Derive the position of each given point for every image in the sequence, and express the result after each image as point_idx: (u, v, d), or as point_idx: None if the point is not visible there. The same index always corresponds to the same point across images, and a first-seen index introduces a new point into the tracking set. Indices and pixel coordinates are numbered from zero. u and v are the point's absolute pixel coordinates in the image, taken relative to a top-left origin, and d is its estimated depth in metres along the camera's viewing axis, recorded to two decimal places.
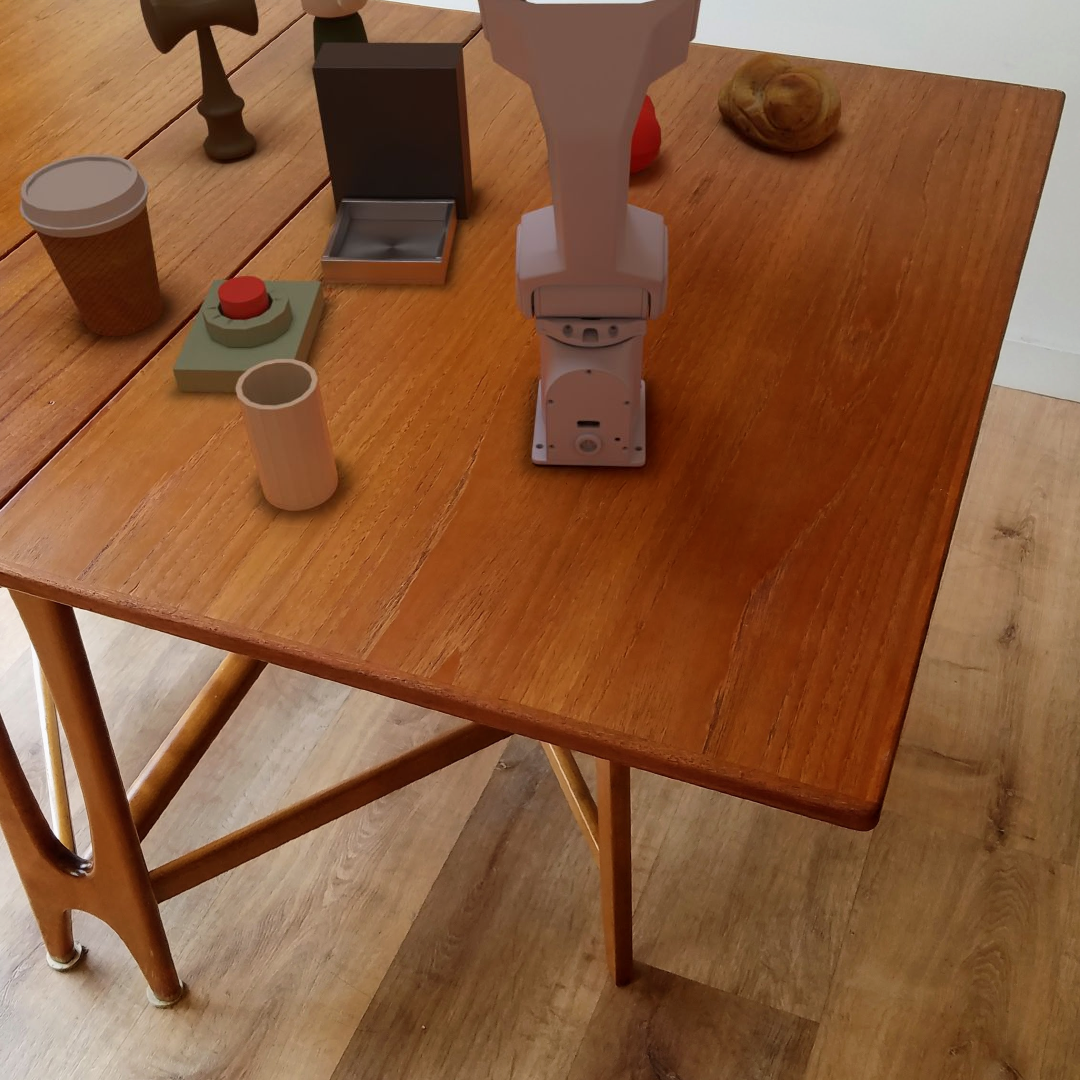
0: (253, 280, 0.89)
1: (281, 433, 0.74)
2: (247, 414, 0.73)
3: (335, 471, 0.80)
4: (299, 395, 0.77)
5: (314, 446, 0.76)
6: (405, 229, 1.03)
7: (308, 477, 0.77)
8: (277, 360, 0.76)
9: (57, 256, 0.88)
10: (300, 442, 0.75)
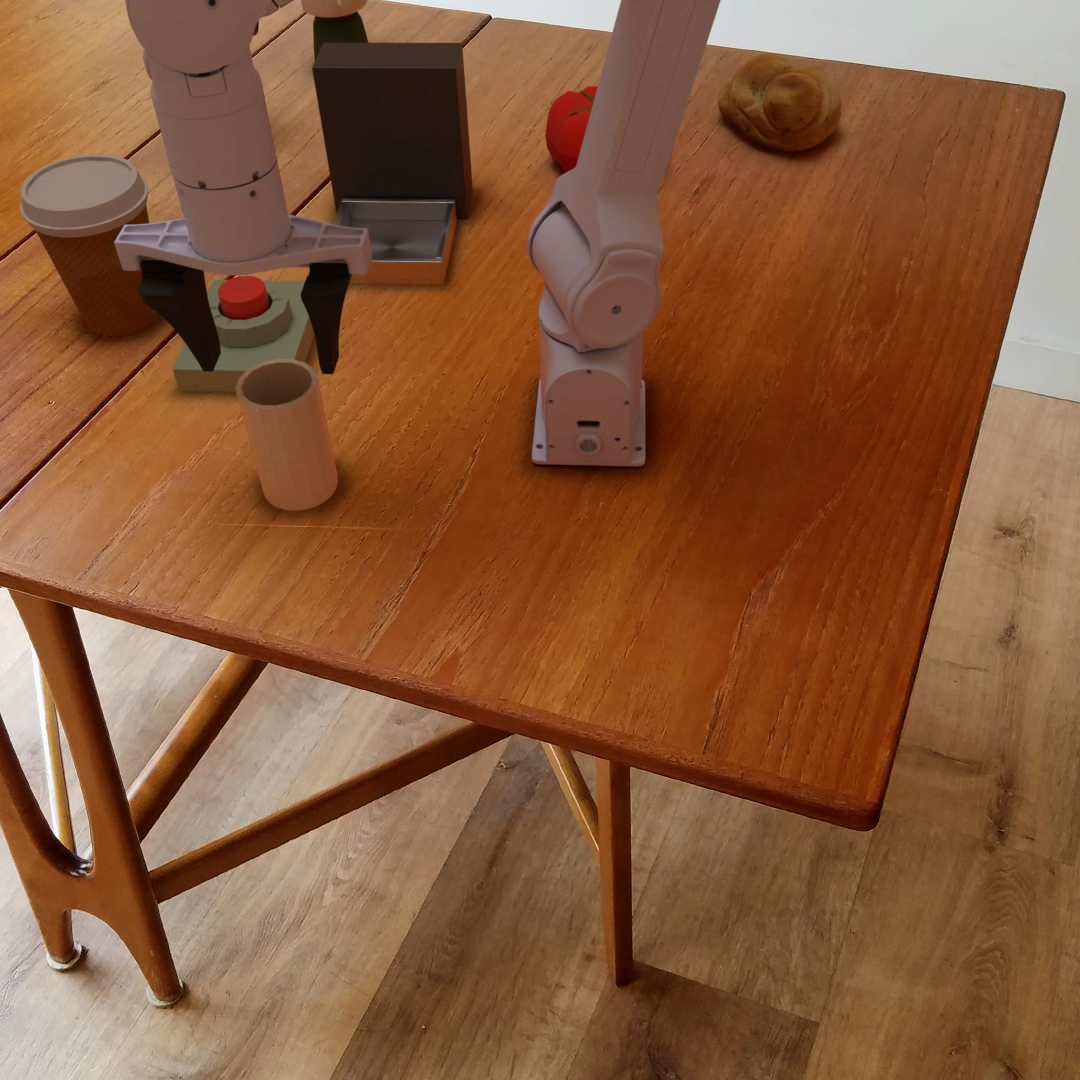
0: (253, 280, 0.89)
1: (281, 433, 0.74)
2: (247, 414, 0.73)
3: (335, 471, 0.80)
4: (299, 395, 0.77)
5: (314, 446, 0.76)
6: (405, 229, 1.03)
7: (308, 477, 0.77)
8: (277, 360, 0.76)
9: (57, 256, 0.88)
10: (300, 442, 0.75)
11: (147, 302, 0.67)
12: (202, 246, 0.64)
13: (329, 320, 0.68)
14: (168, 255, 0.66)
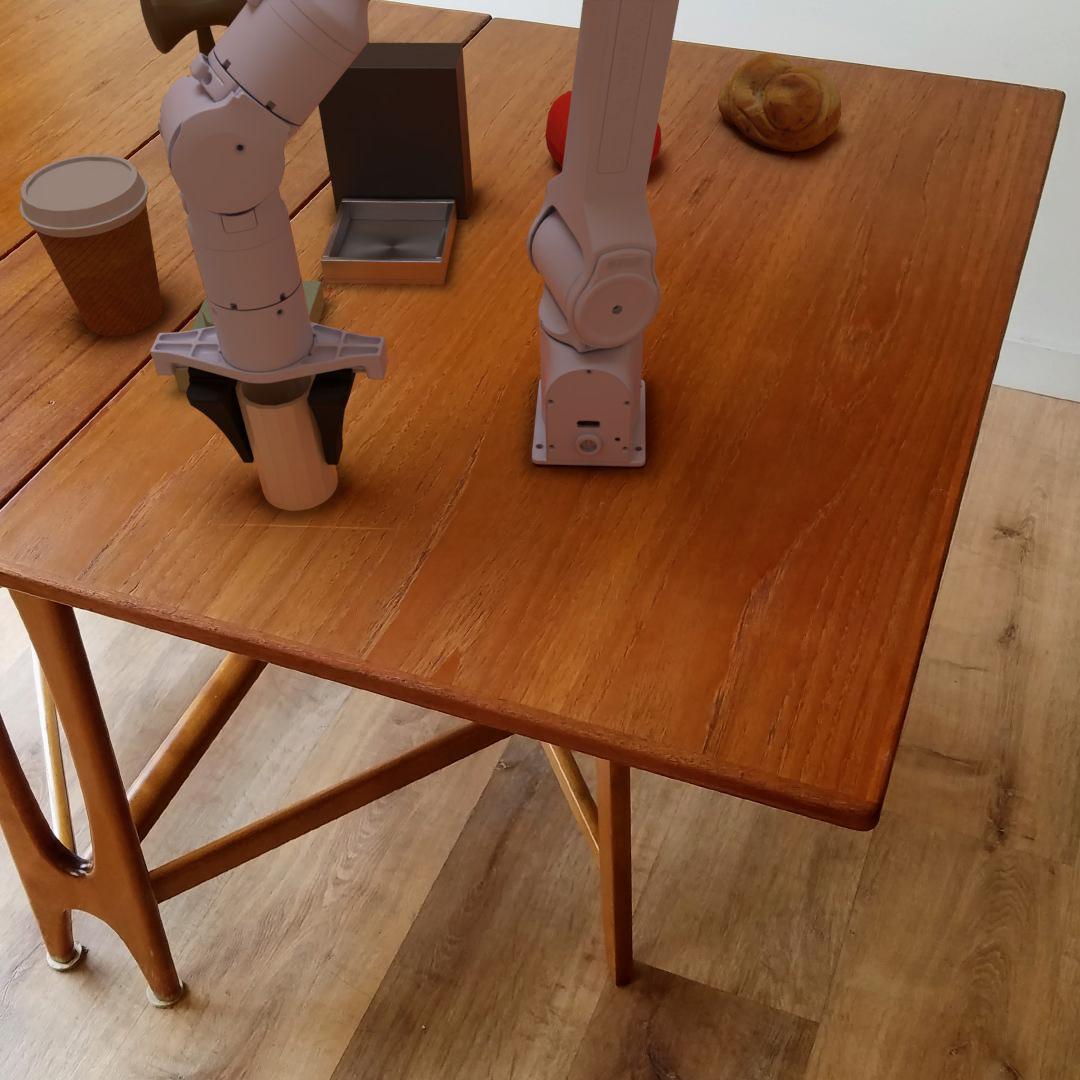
0: None
1: (281, 433, 0.74)
2: (247, 414, 0.73)
3: (335, 471, 0.80)
4: (299, 395, 0.77)
5: (314, 446, 0.76)
6: (405, 229, 1.03)
7: (308, 477, 0.77)
8: None
9: (57, 256, 0.88)
10: (300, 442, 0.75)
11: (194, 405, 0.73)
12: (232, 358, 0.70)
13: (334, 420, 0.73)
14: (200, 364, 0.71)
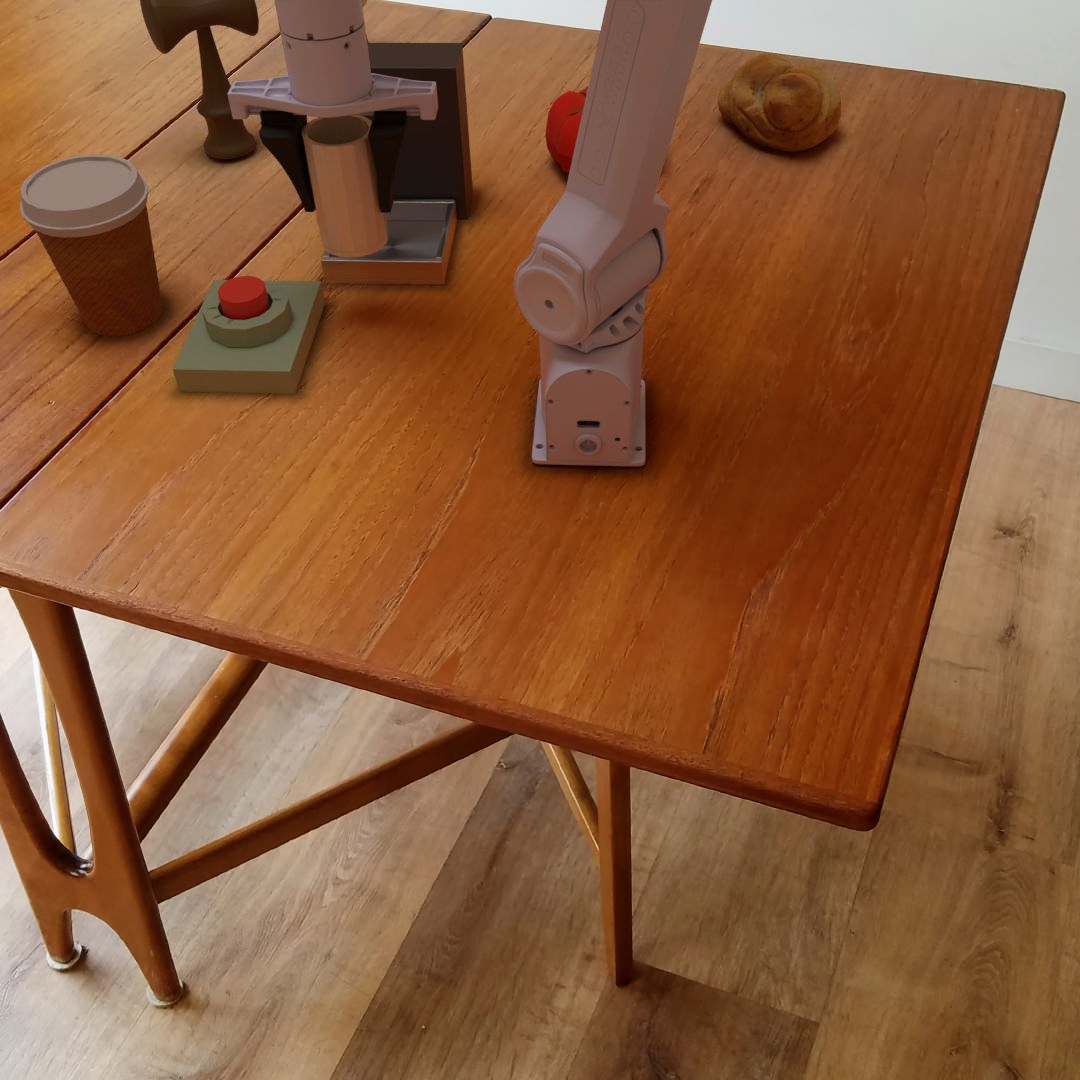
0: (253, 280, 0.89)
1: (342, 173, 0.83)
2: (312, 155, 0.82)
3: (386, 224, 0.89)
4: None
5: (370, 191, 0.85)
6: (405, 229, 1.03)
7: (364, 222, 0.86)
8: None
9: (57, 256, 0.88)
10: (358, 184, 0.84)
11: (266, 144, 0.82)
12: (303, 93, 0.79)
13: (390, 160, 0.82)
14: (273, 102, 0.80)
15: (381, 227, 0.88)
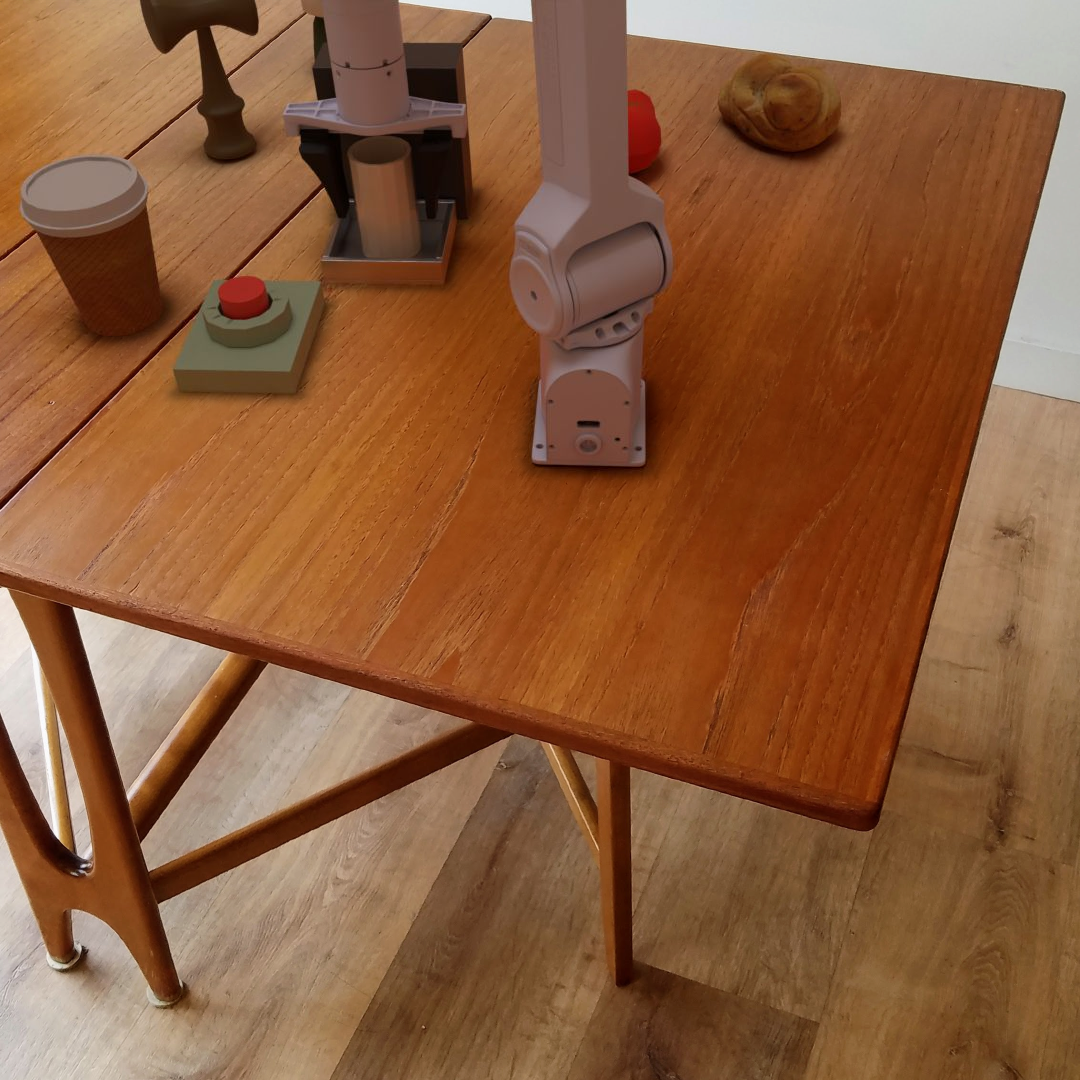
0: (253, 280, 0.89)
1: (383, 189, 0.94)
2: (357, 173, 0.94)
3: (420, 233, 1.00)
4: None
5: (407, 204, 0.96)
6: None
7: (401, 232, 0.97)
8: (378, 136, 0.96)
9: (57, 256, 0.88)
10: (397, 198, 0.95)
11: (305, 159, 0.93)
12: (349, 114, 0.90)
13: (436, 173, 0.93)
14: (323, 122, 0.91)
15: (416, 236, 0.99)
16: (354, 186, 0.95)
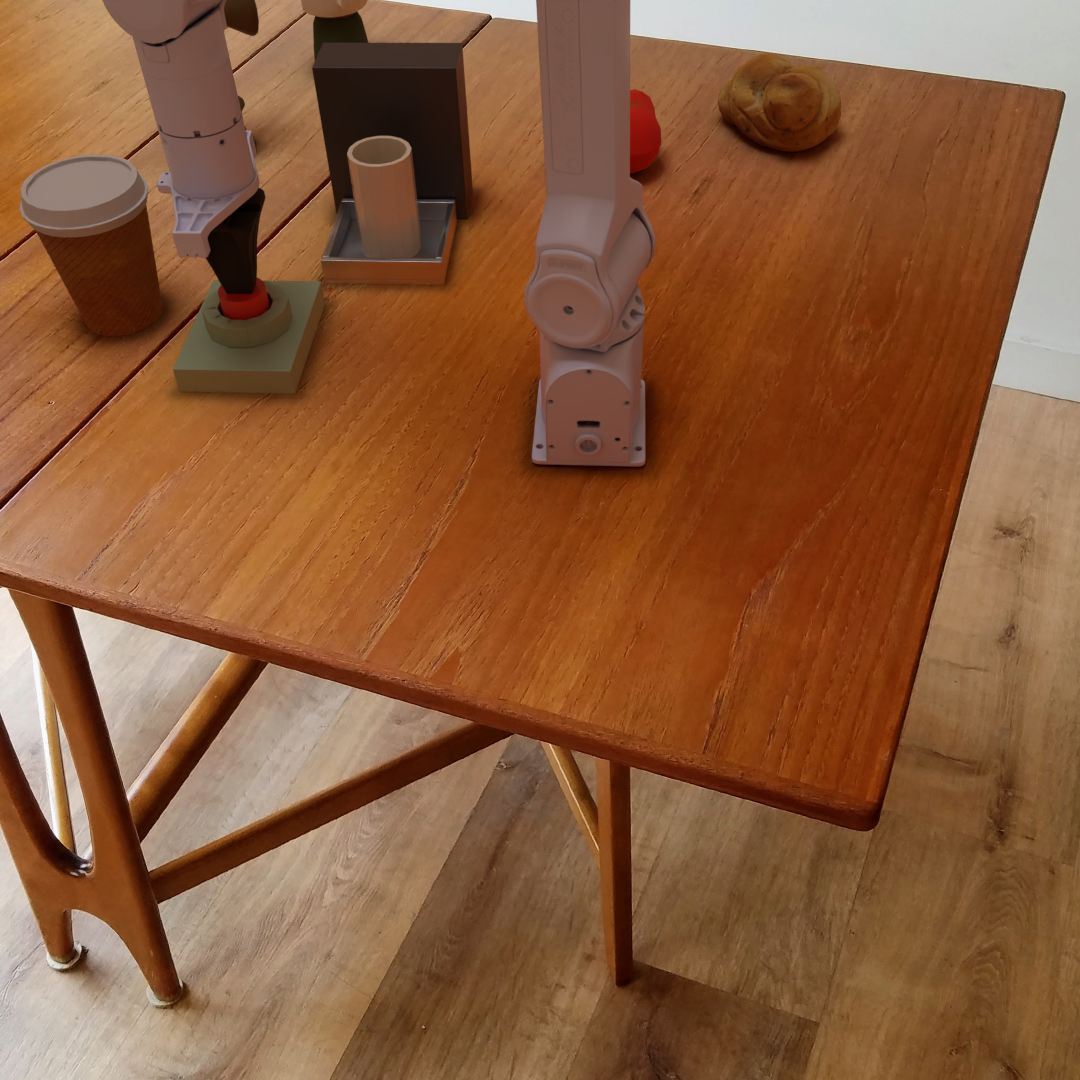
0: None
1: (383, 189, 0.94)
2: (357, 173, 0.94)
3: (420, 233, 1.00)
4: None
5: (407, 204, 0.96)
6: None
7: (401, 232, 0.97)
8: (378, 136, 0.96)
9: (57, 256, 0.88)
10: (397, 198, 0.95)
11: (250, 232, 0.82)
12: (241, 179, 0.80)
13: (258, 224, 0.86)
14: (227, 210, 0.79)
15: (416, 236, 0.99)
16: (354, 186, 0.95)
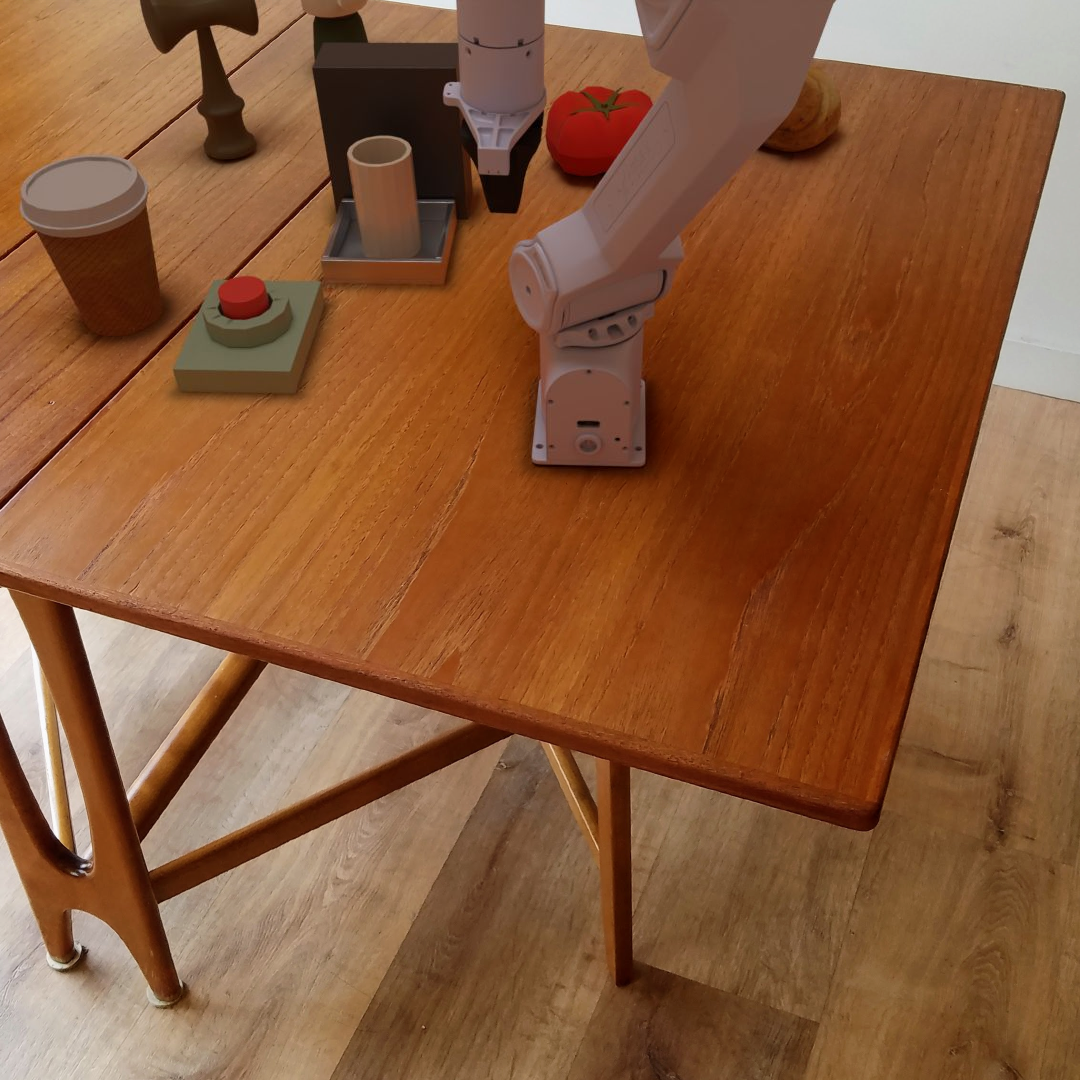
0: (253, 280, 0.89)
1: (383, 189, 0.94)
2: (357, 173, 0.94)
3: (420, 233, 1.00)
4: None
5: (407, 204, 0.96)
6: None
7: (401, 232, 0.97)
8: (378, 136, 0.96)
9: (57, 256, 0.88)
10: (397, 198, 0.95)
11: (536, 149, 0.80)
12: (536, 94, 0.77)
13: None
14: (525, 125, 0.76)
15: (416, 236, 0.99)
16: (354, 186, 0.95)
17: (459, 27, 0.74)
